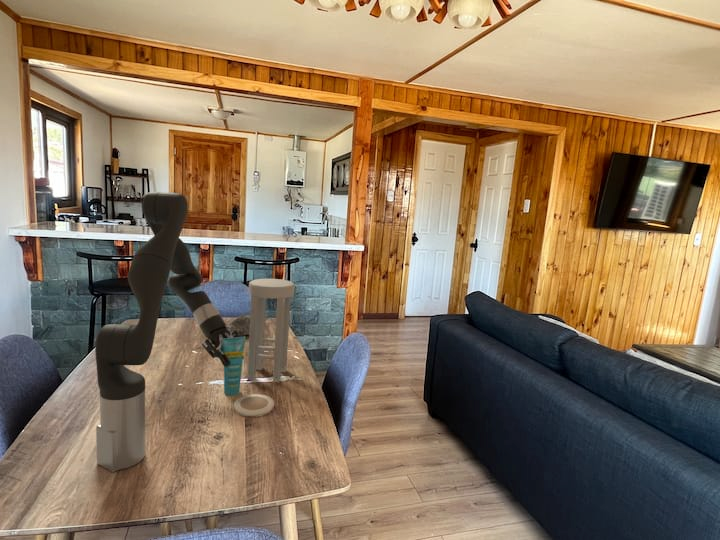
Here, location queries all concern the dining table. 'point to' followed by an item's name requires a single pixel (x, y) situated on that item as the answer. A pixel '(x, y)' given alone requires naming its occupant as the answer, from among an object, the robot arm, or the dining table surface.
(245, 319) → the mineral rock
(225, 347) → the tube
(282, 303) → the stool
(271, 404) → the coaster
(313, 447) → the dining table surface
